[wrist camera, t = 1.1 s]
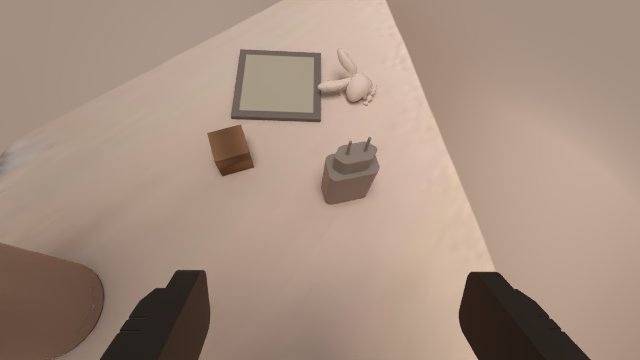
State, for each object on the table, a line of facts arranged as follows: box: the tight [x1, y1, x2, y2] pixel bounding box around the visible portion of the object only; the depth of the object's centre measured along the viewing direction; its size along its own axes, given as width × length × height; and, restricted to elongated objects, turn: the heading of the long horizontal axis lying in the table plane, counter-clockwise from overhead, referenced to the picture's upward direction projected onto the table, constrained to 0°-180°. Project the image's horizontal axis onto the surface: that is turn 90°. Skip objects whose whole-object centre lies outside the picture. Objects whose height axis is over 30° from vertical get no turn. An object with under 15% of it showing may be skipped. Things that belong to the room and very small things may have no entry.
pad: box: [231, 49, 321, 122], centre depth 46 cm, size 12×12×1 cm
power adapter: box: [321, 137, 379, 204], centre depth 34 cm, size 3×5×12 cm, turn 104°
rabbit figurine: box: [318, 48, 377, 106], centre depth 44 cm, size 6×4×8 cm
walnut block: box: [207, 125, 254, 176], centre depth 39 cm, size 4×4×4 cm
